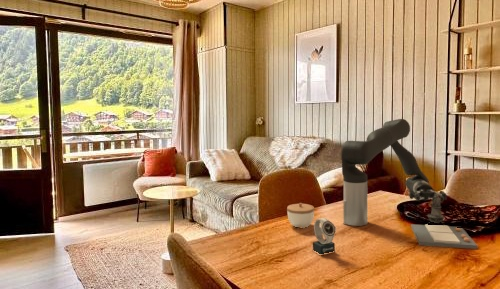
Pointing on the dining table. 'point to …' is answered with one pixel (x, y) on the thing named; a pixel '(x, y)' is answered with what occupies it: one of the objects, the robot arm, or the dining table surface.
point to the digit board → (442, 236)
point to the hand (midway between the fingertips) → (430, 199)
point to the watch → (328, 232)
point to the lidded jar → (300, 214)
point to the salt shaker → (435, 211)
